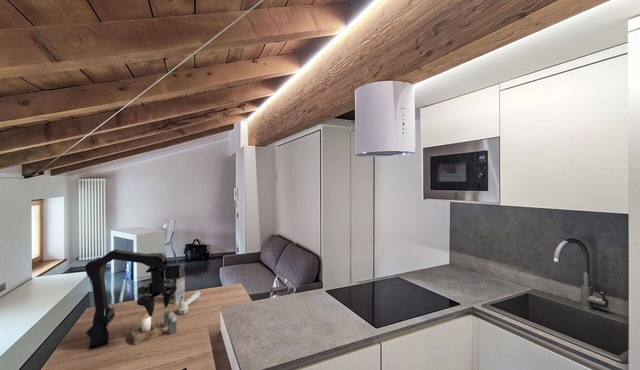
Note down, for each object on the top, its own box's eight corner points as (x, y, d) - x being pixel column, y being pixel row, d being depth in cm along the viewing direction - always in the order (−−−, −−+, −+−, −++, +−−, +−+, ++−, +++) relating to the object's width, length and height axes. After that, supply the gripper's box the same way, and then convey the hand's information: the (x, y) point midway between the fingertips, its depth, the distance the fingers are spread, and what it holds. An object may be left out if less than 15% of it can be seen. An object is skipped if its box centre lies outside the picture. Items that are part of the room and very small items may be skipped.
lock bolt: (172, 321, 135) (172, 317, 135) (168, 317, 140) (168, 313, 140) (176, 320, 137) (176, 316, 137) (173, 316, 141) (173, 312, 141)
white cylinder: (142, 338, 134) (142, 317, 134) (140, 334, 137) (140, 314, 137) (151, 335, 137) (152, 315, 136) (150, 331, 140) (150, 312, 139)
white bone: (202, 290, 182) (186, 302, 158) (201, 301, 182) (185, 314, 157) (194, 290, 182) (177, 302, 157) (193, 301, 181) (176, 314, 156)
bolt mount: (169, 334, 137) (169, 320, 137) (163, 325, 145) (163, 312, 145) (176, 332, 139) (176, 318, 139) (169, 323, 147) (169, 310, 147)
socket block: (134, 344, 128) (134, 338, 128) (130, 334, 137) (130, 328, 137) (162, 335, 136) (162, 329, 136) (156, 326, 145) (156, 320, 145)
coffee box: (166, 301, 174) (166, 276, 173) (175, 297, 179) (175, 273, 179) (175, 305, 169) (175, 278, 169) (184, 301, 175) (185, 275, 175)
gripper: (159, 272, 146) (159, 301, 146) (127, 285, 128) (127, 319, 128) (177, 273, 143) (177, 303, 144) (147, 288, 125) (147, 322, 125)
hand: (158, 311), depth 135 cm, fingers open, 9 cm apart
